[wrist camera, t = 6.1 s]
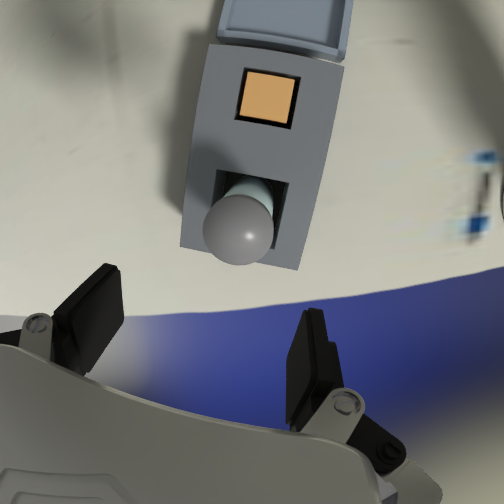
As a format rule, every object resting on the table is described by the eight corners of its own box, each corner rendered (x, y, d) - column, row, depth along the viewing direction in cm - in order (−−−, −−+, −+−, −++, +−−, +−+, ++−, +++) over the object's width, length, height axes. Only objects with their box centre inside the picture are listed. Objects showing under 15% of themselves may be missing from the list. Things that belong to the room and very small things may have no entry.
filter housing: (332, 77, 25) (344, 66, 20) (295, 246, 34) (297, 270, 28) (221, 58, 25) (209, 43, 20) (195, 226, 34) (179, 246, 28)
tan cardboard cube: (292, 88, 25) (294, 79, 21) (285, 124, 27) (286, 122, 22) (253, 81, 25) (248, 71, 21) (246, 117, 27) (239, 114, 22)
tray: (350, -6, 20) (355, -14, 18) (339, 63, 25) (344, 58, 22) (237, -25, 20) (234, -34, 18) (220, 42, 25) (216, 36, 22)
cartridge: (280, 177, 31) (279, 206, 20) (270, 221, 33) (265, 271, 22) (233, 168, 31) (206, 192, 20) (226, 213, 33) (199, 257, 22)
